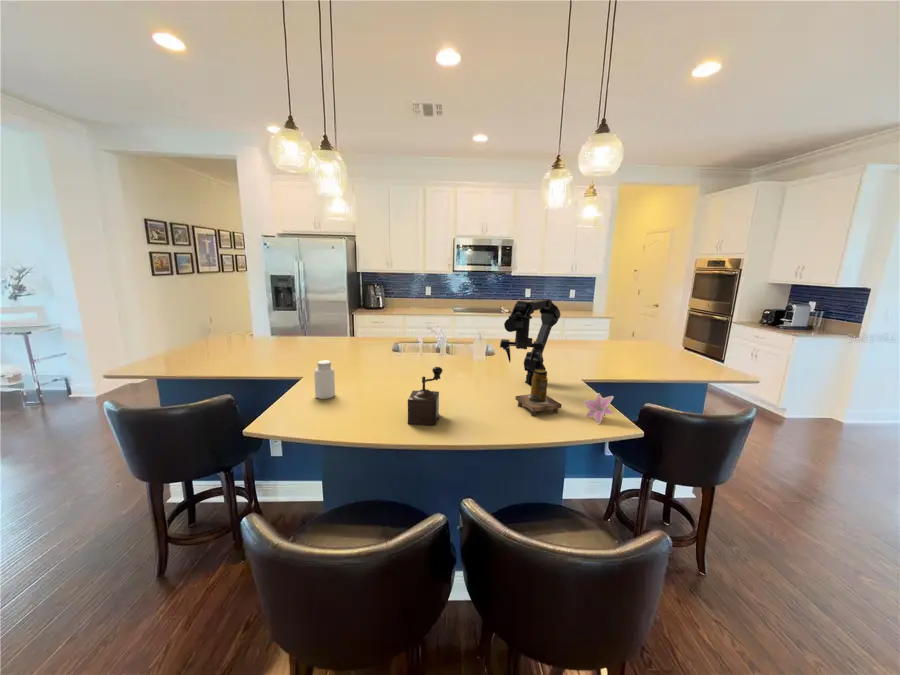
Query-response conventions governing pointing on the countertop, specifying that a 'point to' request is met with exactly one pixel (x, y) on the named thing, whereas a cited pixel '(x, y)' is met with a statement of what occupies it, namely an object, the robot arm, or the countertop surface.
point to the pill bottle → (324, 380)
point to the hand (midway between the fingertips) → (520, 363)
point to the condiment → (539, 387)
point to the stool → (538, 407)
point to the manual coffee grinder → (424, 404)
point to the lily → (598, 407)
